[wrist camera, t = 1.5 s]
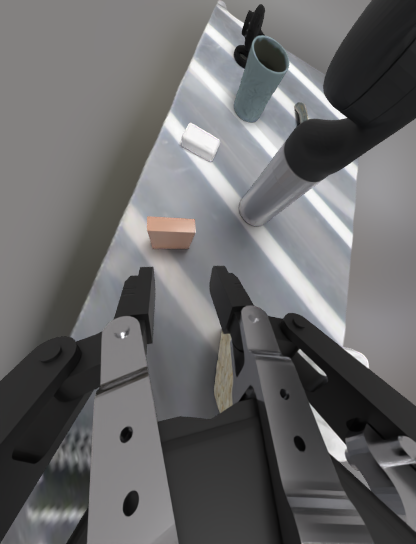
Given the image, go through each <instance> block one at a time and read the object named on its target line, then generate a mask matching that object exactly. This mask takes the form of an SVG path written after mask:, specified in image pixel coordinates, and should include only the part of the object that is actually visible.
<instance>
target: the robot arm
mask: <svg viewBox="0 0 416 544" xmlns="http://www.w3.org/2000/svg"><path fill="white" fill-rule="evenodd" d="M323 89H324V94H325V96H326V98H327V100H328V101H329V102H330V103H331V105H332V106H333V107H334V108H336V109H337V110H339V111H340V112H341V113H342V114H343V115H345V116H346V117H347V118H346V119H341V120H321V119H309V120H306V121H304V122H302V123H301V124H299V125H298V126H297V127H296V128H295V129H294V131H293V132H292V133H291V135H290V136H289V137H288V139H287V140H286V141H285V143H284V144H283V145H282V147H281V148H280V149H279V151H278V152H277V153H276V155H275V156H274V157H273V159H272V160H271V161H270V163H269V164H268V165H267V167H266V168H265V169H264V171H263V172H262V173H261V175H260V176H259V177H258V179H257V180H256V181H255V183H254V184H253V185H252V187H251V188H250V189H249V190H248V192H247V193H246V194H245V196H244V197H243V198H242V200H241V202H240V205H239V211H240V214H241V216H242V218H243V219H244V220H245V221H246V222H247V223H248V224H250V225H253V226H262V225H264V224H265V223H266V222H268V221H269V220H270V219H272V218H273V217H274V216H276V215H277V214H278V213H280V212H281V211H282V210H284V209H285V208H286V207H288V206H289V205H290V204H292V203H293V202H294V201H295V200H297V199H298V198H299V197H301V196H302V195H303V194H305V193H306V192H307V191H309V190H310V189H311V188H312V187H314V186H315V185H316V184H318V183H319V182H320V181H322V180H323V179H324V178H326V177H327V176H328V175H330V174H333V173H335V172H337V171H339V170H341V169H342V168H344V167H345V166H347V165H348V164H350V163H351V162H353V161H354V160H355V159H357V158H358V157H360V156H361V155H362V154H364V153H366V152H367V151H368V150H370V149H371V148H373V147H374V146H376V145H377V144H379V143H380V142H382V141H383V140H385V139H386V138H388V137H389V136H391V135H392V134H394V133H395V132H397V131H398V130H400V129H401V128H403V127H404V126H405V125H407V124H408V123H410V122H411V121H412V120H414V119H415V118H416V0H372V1H371V2H370V4H369V5H368V6H367V7H366V9H365V10H364V12H363V13H362V14H361V16H360V17H359V18H358V20H357V21H356V23H355V24H354V25H353V27H352V29H351V30H350V31H349V33H348V34H347V36H346V37H345V39H344V40H343V42H342V43H341V45H340V47H339V48H338V50H337V52H336V54H335V56H334V57H333V59H332V61H331V63H330V65H329V67H328V70H327V73H326V76H325V79H324V85H323ZM210 294H211V297H212V300H213V303H214V306H215V309H216V312H217V315H218V318H219V321H220V324H221V327H222V330H223V334H230V335H231V341H230V349H231V360H232V371H233V387H232V403H233V405H232V406H230V407H229V408H227V409H226V410H224V411H223V412H221V413H220V414H218V415H217V416H216V417H214V418H212V419H203V418H192V417H182V416H180V417H176V418H172V419H168V420H163V421H159V422H158V419H157V414H156V409H155V403H154V398H153V392H152V387H151V381H150V376H149V370H148V365H147V359H146V354H147V344H151V343H153V326H154V309H155V279H154V268H153V267H140V270H139V275H138V276H130V277H129V278H128V279H127V280H126V281H125V284H124V287H123V290H122V294H121V297H120V300H119V304H118V307H117V310H116V314H115V317H114V320H112V321H111V322H109V323H108V324H107V325H106V326H105V328H104V330H103V331H102V332H100V333H98V334H96V335H93V336H91V337H88V338H85V339H82V340H79V341H77V342H76V341H75V340H74V339H73V338H71V337H66V336H64V337H57V338H54V339H50V340H48V341H46V342H44V343H42V344H41V345H39V346H38V347H36V348H35V349H34V350H33V351H32V352H31V353H30V354H28V356H26V357H25V358H24V359H23V360H22V361H21V362H20V363H19V364H18V365H17V366H16V367H15V368H14V369H13V370H12V371H11V372H10V373H8V375H6V376H5V377H4V378H3V379H2V380H1V381H0V543H1V541H2V540H3V538H4V536H5V535H6V533H7V531H8V530H9V528H10V526H11V525H12V523H13V521H14V520H15V518H16V517H17V515H18V513H19V512H20V510H21V508H22V507H23V505H24V503H25V502H26V500H27V499H28V497H29V495H30V494H31V492H32V490H33V489H34V487H35V485H36V484H37V482H38V480H39V479H40V477H41V476H42V474H43V472H44V471H45V469H46V467H47V466H48V464H49V462H50V461H51V459H52V457H53V456H54V454H55V453H56V451H57V449H58V448H59V446H60V444H61V443H62V441H63V439H64V438H65V436H66V435H67V433H68V431H69V430H70V428H71V426H72V425H73V423H74V421H75V420H76V418H77V416H78V415H79V413H80V412H81V410H82V408H83V407H84V405H85V403H86V402H87V400H88V398H89V397H90V395H91V394H92V392H93V390H94V389H96V388H98V387H100V388H99V390H97V392H96V395H95V400H94V413H93V433H92V454H91V474H90V494H89V506H88V508H87V510H86V511H85V513H84V515H83V516H82V518H81V520H80V521H79V523H78V525H77V526H76V528H75V530H74V531H73V533H72V535H71V536H70V538H69V540H68V541H67V543H66V544H416V406H415V405H413V404H412V403H411V402H410V401H408V400H407V399H406V398H405V397H403V396H402V395H401V394H400V393H398V392H397V391H396V390H395V389H393V388H392V387H391V386H390V385H388V384H387V383H386V382H385V381H383V380H382V379H381V378H379V377H378V376H377V375H376V374H375V373H373V372H372V371H371V370H370V369H368V368H367V367H366V366H365V365H363V364H362V363H361V362H360V361H358V360H357V359H356V358H354V357H353V356H352V355H351V354H349V353H348V352H347V351H346V350H344V349H343V348H342V347H341V346H339V345H338V344H337V343H336V342H334V341H333V340H332V339H331V338H329V337H328V336H327V335H326V334H324V333H323V332H322V331H321V330H319V329H318V328H317V327H315V326H314V325H313V324H312V323H310V322H309V321H308V320H307V319H305V318H304V317H302V316H300V315H298V314H295V313H288V314H286V315H285V317H284V318H283V319H281V318H275V317H270V316H267V314H266V313H265V312H264V311H263V310H262V309H261V308H259V307H256V306H254V305H253V303H252V301H251V300H250V298H249V296H248V294H247V293H246V291H245V289H244V288H243V286H242V284H241V282H240V281H239V279H238V277H236V276H235V275H234V274H233V273H228V271H227V269H226V267H225V266H213V268H212V273H211V279H210ZM299 349H300V350H301V351H302V352H303V353H305V354H306V355H307V356H308V357H309V358H310V359H311V360H312V361H313V362H314V363H315V364H316V365H317V366H318V367H319V368H320V369H321V370H322V371H323V372H324V373H325V374H326V376H324V375H322V374H320V373H319V372H318V371H317V370H315V369H314V368H313V367H312V366H311V365H310V364H309V363H308V362H307V361H306V360H305V359H304V358H303V357H302V356H301V355H300V354H299V353H298V351H299ZM309 403H310V404H309ZM310 405H311V406H312V407H313V408H314V409H315V410H316V411H317V413H318V414H319V415H320V416H321V417H322V418H323V419H324V421H325V422H326V423H327V424H328V425H329V426H330V427H331V429H332V430H333V431H334V432H335V433H336V434H337V435H338V437H339V438H340V439H341V440H342V441H343V442H344V443H345V445H346V447H347V449H345V457H346V460H347V461H348V463H349V464H350V466H351V467H352V468H354V469H355V470H357V471H360V472H361V474H362V475H363V477H364V478H365V480H366V482H367V483H368V485H369V487H370V489H371V491H370V490H369V489H368V488H367V487H366V486H365V485H364V484H363V483H362V482H360V481H359V480H358V479H357V478H356V477H355V476H354V475H353V474H352V473H351V472H350V471H348V470H347V469H346V468H345V467H344V466H343V465H342V464H341V463H340V462H339V461H338V460H336V459H335V458H334V457H333V456H332V455H331V454H330V453H329V452H328V450H327V447H326V445H325V442H324V440H323V437H322V435H321V432H320V430H319V427H318V424H317V422H316V419H315V417H314V414H313V412H312V409H311V407H310Z"/></svg>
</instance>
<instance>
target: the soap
mask: <svg viewBox="0 0 416 544" xmlns="http://www.w3.org/2000/svg"><path fill="white" fill-rule="evenodd" d="M219 144H220V140H219V139H218V138H216V137H214V136H213V135H211V134H209V133H208V132H206V131H204V130H203V129H201V128H199V127H197V126H196V125H194V124H192V123H189V124H188V126H187V128H186V130H185V132H184V133H183V135H182V142H181V145H182V146H183V147H184V148H186V149H188V150H190V151H191V152H193V153H195V154H197V155H199V156H200V157H202V158H204V159H206V160H208V161H209V162H212V161H213V159H214V156H215V154H216V152H217V150H218V147H219Z"/></svg>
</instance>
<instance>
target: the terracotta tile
mask: <svg viewBox="0 0 416 544" xmlns="http://www.w3.org/2000/svg"><path fill="white" fill-rule="evenodd" d="M147 231H148V234H149V238H150V241H151V244H152V247H153V249H189V247H190V244H191V242H192V240H193V237H194V235H195V233H196V232H195V219H183V218H165V217H147Z"/></svg>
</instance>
